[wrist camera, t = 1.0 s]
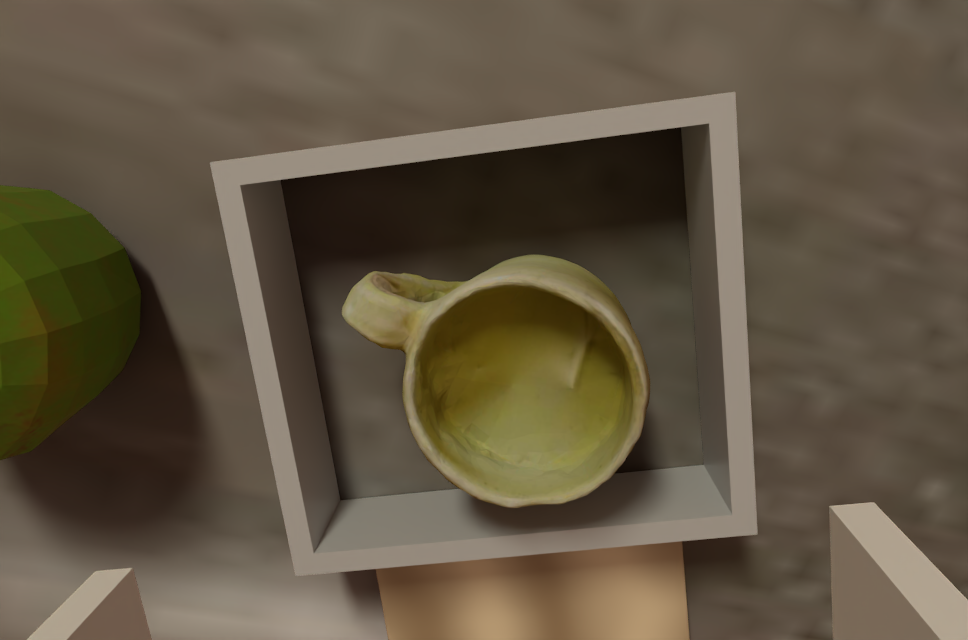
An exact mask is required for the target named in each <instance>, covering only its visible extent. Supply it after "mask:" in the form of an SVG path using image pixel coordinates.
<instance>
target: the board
mask: <svg viewBox="0 0 968 640" xmlns="http://www.w3.org/2000/svg"><path fill="white" fill-rule="evenodd" d="M376 574H377V579H378V585H379V590H380V596H381V601H382V607H383V613H384V618H385V624H386V629H387V635H388V640H689V627H688V613H687V600H686V587H685V574H684V561H683V547H682V541H679V542H668V543H657V544H646V545H635V546H624V547H612V548H601V549H590V550H579V551H568V552H557V553H546V554H535V555H524V556H513V557H502V558H491V559H480V560H468V561H457V562H446V563H435V564H424V565H413V566H402V567H391V568H380V569H376Z"/></svg>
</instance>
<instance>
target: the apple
mask: <svg viewBox="0 0 968 640" xmlns="http://www.w3.org/2000/svg"><path fill="white" fill-rule="evenodd" d="M140 306H141V290H140V287H139V285H138V282H137V279H136V277H135V274H134V271H133V269H132V266H131V264H130V261H129V258H128V256H127V253H126V250H125V248H124V247H123V246H122V245H121V244H120V243H119V242H118V241H117V240H116V239H115V238H114V237H113V236H112V235H111V234H110V233H109V232H108V230H107V229H106V228H105V227H104V226H103V225H102V224H101V223H100V222H99V221H98V220H97V219H96V218H95V217H94V216H93V215H92V214H91V213H89V212H87V211H86V210H84V209H82V208H80V207H78V206H77V205H75V204H73V203H71V202H69V201H68V200H66V199H64V198H62V197H60V196H59V195H57V194H55V193H53V192H51V191H50V190H42V189H32V188H22V187H13V186H3V185H0V460H2V459H6V458H9V457H13V456H16V455H20V454H23V453H27V452H31V451H32V450H33V449H34V448H36V447H37V446H38V445H39V444H40V443H41V442H43V441H44V440H45V439H46V438H47V437H48V436H50V435H51V434H52V433H53V432H54V431H55V430H57V429H58V428H59V427H60V426H61V425H62V424H63V423H65V422H66V421H67V420H68V419H70V418H71V417H72V416H73V415H74V414H76V413H77V412H78V411H79V410H81V409H82V408H83V407H84V406H85V405H87V404H88V403H89V402H90V401H92V400H93V399H94V398H95V397H96V396H98V395H99V394H100V393H101V392H102V391H103V390H104V389H105V388H106V387H107V386H108V385H109V384H110V383H111V382H112V381H113V380H114V379H115V378H116V376H117V375H118V374H119V373H120V372H121V371H122V370H123V368H124V366H125V364H126V362H127V360H128V358H129V356H130V353H131V351H132V349H133V347H134V345H135V343H136V340H137V338H138V336H139V331H140Z"/></svg>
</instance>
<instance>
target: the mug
mask: <svg viewBox="0 0 968 640" xmlns="http://www.w3.org/2000/svg"><path fill="white" fill-rule="evenodd" d="M342 316H343V318H344V319H345V320H346V322H347V323H348V324H349V325H350V326H352V327H353V328H354V329H356V330H357V331H358V332H359V333H360V334H361V335H362V336H364V337H365V338H366V339H368V340H369V341H371V342H374V343H376V344H377V345H379V346H380V347H382V348H389V349H398V350H401V351H403V352H404V353H405V354H406V366H405V371H404V376H403V392H402V393H403V403H404V408H405V412H406V416H407V420H408V424H409V427H410V429H411V432H412V434H413V436H414V438H415V440H416V442H417V444H418V446H419V448H420V449H421V451H422V452H423V454H424V455H425V457H426V459H427V460H428V461H429V462H430V463H431V464H432V465H433V466H434V467H435V468H436V469H437V470H438V471H439V472H440V473H441V474H442V475H443V476H444V477H445V478H446V479H447V480H448V481H450V482H451V483H452V484H454V485H455V486H456V487H458V488H459V489H461V490H463V491H465V492H466V493H468V494H469V495H471V496H472V497H474V498H476V499H479V500H482V501H485V502H488V503H492V504H496V505H499V506H503V507H507V508H520V507H524V506H531V505H544V504H564V503H566V502H568V501H571V500H575V499H578V498H580V497H583V496H586V495H588V494H589V493H591V492H592V491H593V490H595V489H596V488H598V487H599V486H600V485H601V484H602V483H604V482H606V481H607V480H609V479H610V478H611V477H612V476H613V475H614V473H615V472H616V471H617V469H618V468H619V467H620V466H621V465H622V464H623V462H624V461H625V459H626V457H627V455H628V454H629V453H630V452H631V451H632V449H633V447H634V445H635V443H636V442H637V440H638V439H639V438H640V436H641V433H642V429H643V425H644V420H645V416H646V409H647V406H648V403H649V396H650V378H649V373H648V368H647V365H646V361H645V358H644V354H643V351H642V348H641V345H640V342H639V340H638V338H637V336H636V334H635V332H634V330H633V328H632V326H631V323H630V320H629V318H628V316H627V314H626V312H625V311H624V309H623V307H622V306H621V304H620V302H619V301H618V299H617V298H616V296H615V295H614V294H613V293H612V292H611V291H610V289H609V288H608V287H607V286H606V285H605V284H604V283H603V282H602V281H601V280H600V279H598V278H597V277H596V276H595V275H593V274H592V273H590V272H589V271H588V270H586V269H584V268H582V267H581V266H579V265H577V264H574V263H572V262H569V261H566V260H564V259H561V258H556V257H552V256H546V255H525V256H520V257H515V258H511V259H508V260H505V261H503V262H501V263H499V264H497V265H495V266H494V267H492V268H490V269H489V270H487V271H485V272H483V273H481V274H479V275H477V276H476V277H474V278H473V279H471V280H469V281H465V282H457V281H454V282H445V281H439V280H428V279H426V278H424V277H422V276H418V275H412V274H406V273H402V274H393V273H388V272H378V271H373V272H371V273H369V274H368V275H366V276H365V277H364V278H363V279H362V280H361V281H359V282H358V283H357V284H356V285H355V286H354V287H353V288H352V289H351V291H350V292H349V295H348V297H347V299H346V301H345V303H344V305H343V307H342Z"/></svg>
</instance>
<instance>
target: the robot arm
mask: <svg viewBox="0 0 968 640" xmlns="http://www.w3.org/2000/svg"><path fill="white" fill-rule="evenodd" d="M829 508H830V547H831V585H832V624H833V640H968V600H967V599H966V598H965V597H964V596H963V595H962V594H961V593H960V592H959V591H958V589H957V588H956V587H955V586H954V585H953V584H952V583H951V582H950V581H949V580H948V579H947V578H946V577H945V576H944V575H943V574H942V573H941V572H940V571H939V570H938V569H937V568H936V567H935V566H934V565H933V563H932V562H931V561H930V560H929V559H928V558H927V557H926V556H925V555H924V554H923V553H922V552H921V551H920V550H919V549H918V548H917V547H916V546H915V545H914V544H913V543H912V542H911V541H910V540H909V539H908V538H907V536H906V535H905V534H904V533H903V532H902V531H901V530H900V529H899V528H898V527H897V526H896V525H895V524H894V523H893V522H892V521H891V520H890V519H889V518H888V517H887V516H886V515H885V514H884V513H883V512H882V510H881V509H880V508H879V507H878V506H877V505H876V504H875V503H874V502H871V503H860V504H848V505H837V506H829ZM27 640H152V639H151V635H150V631H149V628H148V624H147V620H146V616H145V612H144V608H143V605H142V601H141V597H140V593H139V589H138V586H137V582H136V578H135V574H134V570H133V568H125V569H114V570H102V571H95V572H94V573H93V574H92V575H91V576H90V577H89V578H88V579H87V580H86V581H85V582H84V583H83V584H82V585H81V586H80V587H79V588H78V589H77V590H76V591H75V592H74V593H73V594H72V595H71V596H70V597H69V598H68V599H67V600H66V601H65V602H64V603H63V604H62V605H61V606H60V607H59V608H58V609H57V610H56V611H55V612H54V613H53V614H52V615H51V616H50V617H49V618H48V619H47V620H46V621H45V622H44V623H43V624H42V625H41V626H40V627H39V628H38V629H37V630H36V631H35V632H34V633H33V634H32V635H31V636H30V637H29V638H28V639H27Z"/></svg>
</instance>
